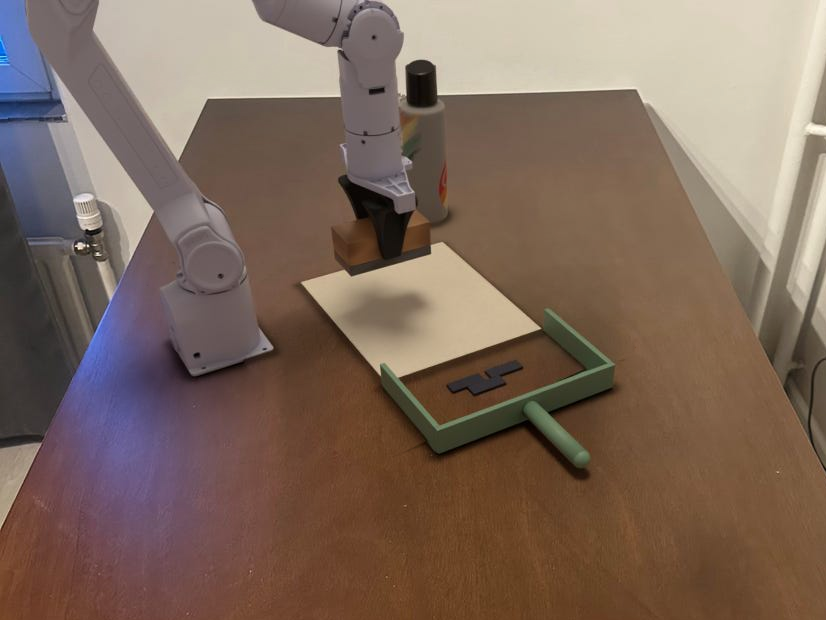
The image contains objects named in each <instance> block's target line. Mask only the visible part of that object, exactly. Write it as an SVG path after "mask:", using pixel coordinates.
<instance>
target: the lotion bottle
mask: <svg viewBox="0 0 826 620" xmlns="http://www.w3.org/2000/svg"><path fill="white" fill-rule="evenodd" d="M404 76H405V96H406V99H407V100H405V101H403V102H402V103H401V105H400V116H401V133H402V149H403V154H402V157H407V158H408V159H409V160H410V161H412V167H413V168H412V169H410V170H406V174H407V178H408V181H409V185H410V187H411V189H412V190H413V191H414V192H415V196H416V197H417V198H418V206H417V207H416V210H417V211H418V212H419V213H421V214H422V215H423V216H424V217H425V218H426V219H427V220H428V221H430V224H436V223H439V222H441V221H443V220H444V219H446V218H447V217H448V215H449V214H448V212H449V209H448V207H449V204H448V201H449V200H448V171H447V167H448V165H447V164H448V163H447V133H446V132H447V131H446V129H447V128H446V106H445V103H444V102H443V101H442V100H440V99H439V97H438V82H437V81H438V79H437V77H438V76H437V65H436V64H434V63H432V62H431V61H430V60H428V59H415V60H412V61H410V62H409V63H407V64H406V65H405V66H404Z"/></svg>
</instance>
